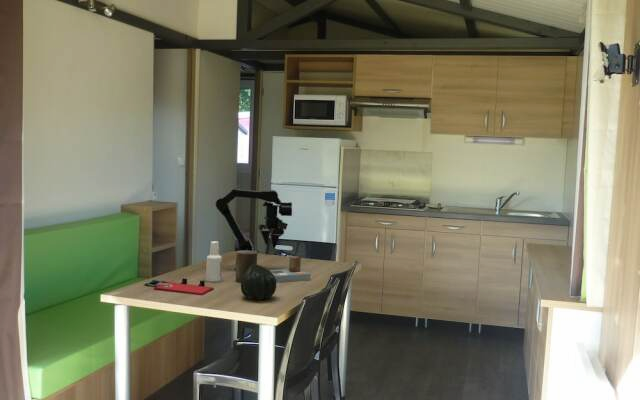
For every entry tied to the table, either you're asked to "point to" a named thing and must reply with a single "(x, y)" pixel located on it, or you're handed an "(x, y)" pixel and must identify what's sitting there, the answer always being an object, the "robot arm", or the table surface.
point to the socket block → (290, 275)
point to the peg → (295, 264)
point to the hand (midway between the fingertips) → (270, 246)
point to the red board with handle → (181, 287)
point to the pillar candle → (244, 262)
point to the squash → (258, 283)
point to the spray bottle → (214, 263)
